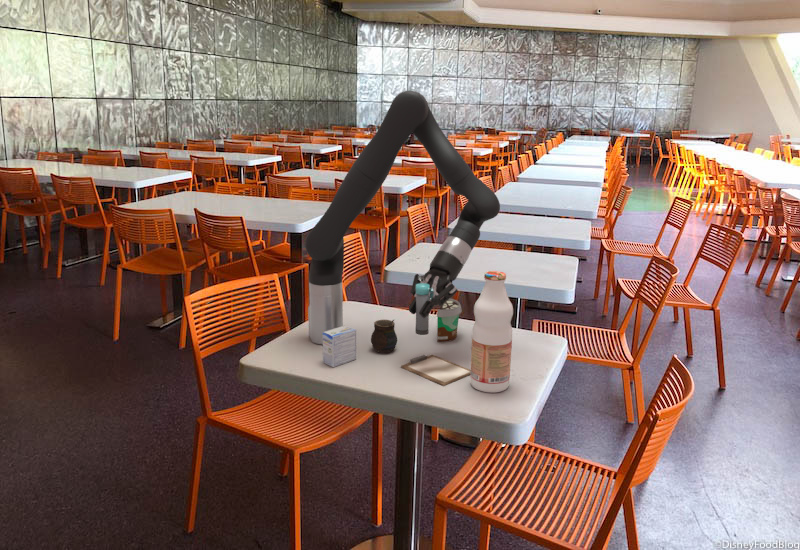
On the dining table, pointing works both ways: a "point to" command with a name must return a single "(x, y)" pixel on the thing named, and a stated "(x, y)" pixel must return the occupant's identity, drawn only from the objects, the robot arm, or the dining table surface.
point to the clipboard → (436, 369)
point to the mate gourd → (384, 336)
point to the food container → (448, 320)
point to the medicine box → (339, 346)
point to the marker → (421, 298)
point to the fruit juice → (492, 336)
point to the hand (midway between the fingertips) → (416, 313)
